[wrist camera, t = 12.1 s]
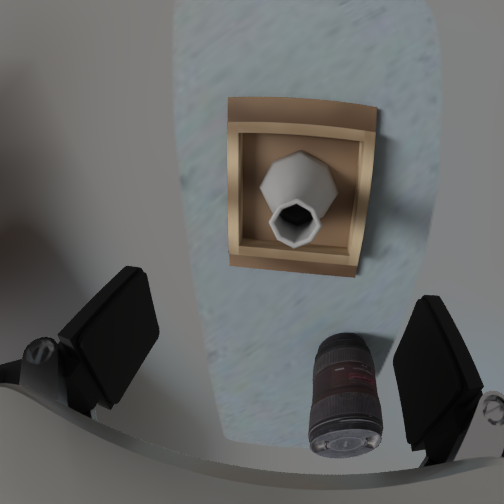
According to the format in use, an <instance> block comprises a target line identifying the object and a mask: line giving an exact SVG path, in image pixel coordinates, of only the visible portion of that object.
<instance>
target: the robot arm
mask: <svg viewBox="0 0 504 504" xmlns="http://www.w3.org/2000/svg"><path fill="white" fill-rule="evenodd" d="M58 337H59V339H60V342H59V343H58V344H57V342H56V341H55V339H53V338H51V337H40V338H37V339H35V340H33V341H32V342H30V344H28V345H27V347H26V348H25V350H24V353H23V357H22V359H20V360H17V361H13V362H9V363H5V364H1V365H0V504H504V395H503V394H501V393H499V392H497V391H489V392H486V393H485V394H484V395H483V394H482V391H481V390H482V388H483V387H484V386H483V383H482V381H481V378H480V376H479V373H478V371H477V369H476V366H475V364H474V362H473V360H472V357H471V355H470V353H469V351H468V349H467V347H466V345H465V343H464V340H463V338H462V336H461V334H460V333H459V331H458V329H457V327H456V325H455V323H454V321H453V319H452V318H451V315H450V314H449V312H448V310H447V309H446V306H445V305H444V303H443V301H442V300H441V298H440V297H439V296H434V295H424V296H423V297H422V298H421V299H418V301H417V302H416V305H415V307H414V310H413V312H412V315H411V317H410V320H409V322H408V325H407V327H406V330H405V332H404V334H403V337H402V339H401V341H400V344H399V346H398V348H397V350H396V352H395V354H394V358H393V366H394V371H395V376H396V380H397V385H398V390H399V396H400V401H401V406H402V412H403V418H404V425H405V432H406V438H407V442H408V443H409V444H411V448H412V451H418V450H426V457H425V459H424V460H423V462H422V463H421V465H420V466H419V468H414V469H408V470H399V471H390V472H381V473H369V474H350V475H319V474H318V475H317V474H298V473H285V472H275V471H266V470H258V469H252V468H245V467H240V466H234V465H229V464H224V463H219V462H214V461H210V460H206V459H201V458H198V457H194V456H190V455H186V454H183V453H179V452H176V451H173V450H169V449H166V448H163V447H160V446H157V445H154V444H151V443H148V442H146V441H143V440H140V439H138V438H135V437H132V436H130V435H127V434H125V433H122V432H120V431H117V430H115V429H113V428H111V427H108V426H106V425H104V424H102V423H100V422H98V421H97V417H96V412H95V406H96V404H97V403H98V404H99V405H101V406H103V407H105V408H107V409H110V410H111V409H112V407H113V405H114V404H117V403H118V402H119V401H120V400H121V398H122V396H123V394H124V393H125V391H126V389H127V388H128V386H129V384H130V383H131V381H132V379H133V378H134V376H135V374H136V373H137V371H138V369H139V368H140V366H141V364H142V363H143V361H144V360H145V358H146V357H147V355H148V353H149V351H150V350H151V348H152V347H153V345H154V344H155V342H156V340H157V339H158V337H159V326H158V322H157V319H156V314H155V310H154V305H153V301H152V297H151V292H150V288H149V283H148V278H147V274H146V273H144V272H143V270H142V269H141V268H139V267H132V266H126V267H124V268H123V269H122V270H121V271H120V272H119V273H118V274H117V275H116V276H115V277H114V278H113V279H111V281H109V282H108V284H106V285H105V286H104V287H103V288H102V289H101V290H100V291H99V292H98V293H97V294H96V295H95V296H94V297H93V298H92V299H91V300H90V301H89V302H88V303H87V304H86V305H85V306H84V307H83V308H82V309H81V311H79V312H78V314H76V316H74V318H73V319H72V320H71V321H70V322H69V323H68V324H67V325H66V326H65V327H64V328H63V329H62V330H61V331H60V333H59V334H58Z"/></svg>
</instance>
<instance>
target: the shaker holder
mask: <svg viewBox="0 0 504 504" xmlns="http://www.w3.org/2000/svg"><path fill="white" fill-rule="evenodd" d="M376 117H377V107H372V106H366V105H360V104H353V103H345V102H337V101H328V100H317V99H304V98H286V97H228V122H227V167H228V232H229V256H230V266H238V267H248V268H258V269H268V270H278V271H288V272H299V273H309V274H320V275H331V276H343V277H354V278H355V275H356V270H357V266H358V261H359V256H360V251H361V245H362V240H363V234H364V228H365V222H366V216H367V209H368V202H369V195H370V187H371V179H372V170H373V160H374V149H375V136H376ZM299 150H302V151H304V152H306V153H307V154H309V155H311V156H313V157H314V158H316V159H318V160H319V161H321V162H323V163H325V164H326V165H328V168H329V170H330V172H331V175H332V177H333V180H334V182H335V184H336V187H337V189H338V192H339V193H338V195H337V196H336V198H335V199H334V201H333V203H332V204H331V206H330V207H329V209H328V211H327V212H326V214H325V215H324V217H322V218H319V219H320V221H321V224H322V227H321V229H320V230H319V232H318V233H317V235H316V236H315V238H314V239H313V241H312V242H311V243H308V244H305V245H302V246H300V247H297V248H292V247H290V246H288V245H286V244H284V243H283V242H281V241H279V240H277V238H276V236H275V234H274V232H273V230H272V228H271V226H270V224H269V220H270V219H271V217H272V215H273V213H272V212H271V210H270V208H269V206H268V204H267V202H266V200H265V198H264V196H263V194H262V192H261V190H260V188H259V187H260V185H261V183H262V181H263V179H264V177H265V175H266V174H267V172H268V170H269V168H270V166H271V164H272V162H273V161H276V160H278V159H280V158H283V157H285V156H287V155H289V154H292V153H294V152H297V151H299Z"/></svg>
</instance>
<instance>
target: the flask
mask: <svg viewBox="0 0 504 504" xmlns="http://www.w3.org/2000/svg"><path fill="white" fill-rule="evenodd" d="M259 188H260V190H261V192H262V194H263V196H264V198H265V200H266V202H267V204H268V206H269V208H270V210H271V212H272V213H273V215H272V217H271V219H270V220H269V224H270V226H271V228H272V230H273V232H274V234H275V236H276V238H277V240H279V241H281V242H283V243H284V244H286V245H288V246H290V247H292V248H297V247H300V246H302V245H305V244H308V243H311V242H312V241H313V239H314V238H315V236H316V235H317V233H318V232H319V230H320V229H321V227H322V224H321V221H320V219H319V218H322V217H324V215H325V214H326V212H327V211H328V209H329V207H330V206H331V204H332V203H333V201H334V199H335V198H336V196H337V195H338V193H339V192H338V189H337V187H336V184H335V182H334V180H333V177H332V175H331V172H330V170H329V168H328V165H326V164H325V163H323V162H321V161H319V160H318V159H316V158H314V157H313V156H311V155H309V154H307V153H306V152H304V151H302V150H299V151H297V152H294V153H292V154H289V155H287V156H285V157H283V158H280V159H278V160H276V161H273V162H272V164H271V166H270V168H269V170H268V172H267V174H266V175H265V177H264V179H263V181H262V183H261V185H260V187H259Z"/></svg>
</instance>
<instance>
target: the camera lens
mask: <svg viewBox="0 0 504 504" xmlns="http://www.w3.org/2000/svg"><path fill="white" fill-rule="evenodd" d="M382 431H383V421H382V413H381V405H380V401H379V398H378V394H377V387H376V379H375V369H374V363H373V359H372V356H371V353H370V350H369V349H368V347H367V346H366V344H365V342H364V340H363V339H362V338H361V337H359V336H357V335H355V334H351V333H340V334H336V335H333V336H331V337H329V338H327V339H326V340H324V341H323V342H322V343H321V345H320V346H319V349H318V353H317V355H316V357H315V364H314V369H313V399H312V406H311V411H310V421H309V433H308V437H309V442H310V449H311V450H312V451H313V452H314V453H316V454H317V455H320V456H323V457H329V458H350V457H356V456H359V455H363V454H365V453H368V452H370V451H372V450H373V449H375V448H376V447H378V446H379V444H380V443H381V439H382V438H381V436H382Z"/></svg>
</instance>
